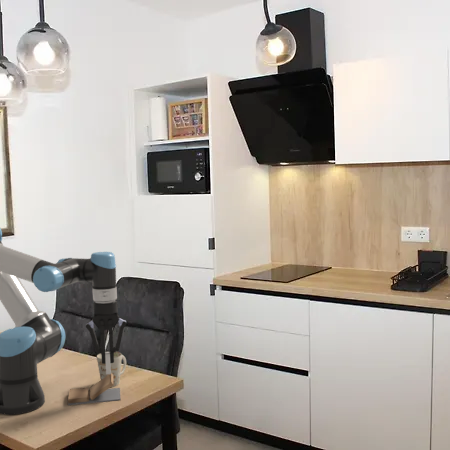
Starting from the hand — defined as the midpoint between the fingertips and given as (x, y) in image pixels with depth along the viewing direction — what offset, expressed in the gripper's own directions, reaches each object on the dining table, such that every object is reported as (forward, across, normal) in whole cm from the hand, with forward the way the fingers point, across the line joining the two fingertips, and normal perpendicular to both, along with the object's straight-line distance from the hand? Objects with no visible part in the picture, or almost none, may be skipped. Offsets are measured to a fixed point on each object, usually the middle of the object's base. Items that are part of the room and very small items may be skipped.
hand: (108, 372), depth 186 cm
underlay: (+8, -5, 0) cm, 9 cm away
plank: (+5, -2, 0) cm, 5 cm away
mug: (+8, +2, +12) cm, 15 cm away
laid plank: (+7, -10, 0) cm, 12 cm away
